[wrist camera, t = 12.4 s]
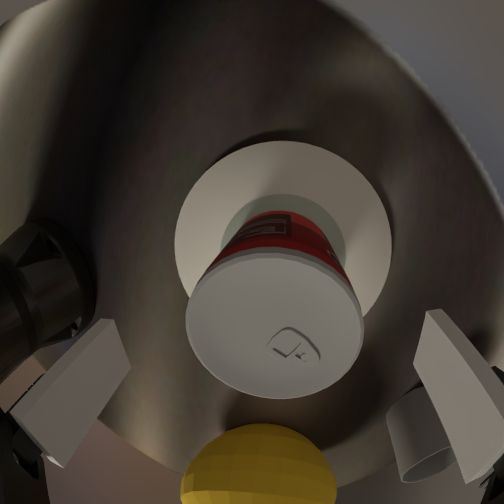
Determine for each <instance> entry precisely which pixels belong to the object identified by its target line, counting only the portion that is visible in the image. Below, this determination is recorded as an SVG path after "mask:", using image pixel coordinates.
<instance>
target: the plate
mask: <svg viewBox="0 0 504 504" xmlns="http://www.w3.org/2000/svg"><path fill="white" fill-rule="evenodd" d="M279 210H283V211H289V212H294V213H297V214H300V215H302V216H304V217H306V218H308V219H309V220H311V221H312V222H314V223H315V224H316V225H317V226H318V227H319V228H320V229H321V230H322V232H323V233H324V234H325V236H326V237H327V239H328V241H329V243H330V244H331V246H332V248H333V250H334V252H335V254H336V255H337V257H338V259H339V261H340V263H341V265H342V267H343V269H344V271H345V273H346V274H347V276H348V278H349V280H350V282H351V285H352V287H353V289H354V292H355V294H356V296H357V299H358V301H359V304H360V307H361V312H362V315H363V316H364V315H365V314H366V313H367V312H368V311H369V309H370V308H371V307H372V305H373V304H374V303H375V301H376V299H377V298H378V296H379V294H380V293H381V290H382V288H383V286H384V283H385V281H386V278H387V275H388V271H389V267H390V261H391V253H392V243H391V232H390V225H389V221H388V218H387V215H386V211H385V209H384V207H383V204H382V202H381V200H380V198H379V196H378V195H377V193H376V191H375V190H374V188H373V187H372V185H371V184H370V183H369V182H368V180H367V179H366V178H365V177H364V176H363V175H362V174H361V173H360V172H359V171H358V170H357V169H356V168H355V167H354V166H352V165H351V164H350V163H349V162H347V161H346V160H344V159H343V158H341V157H339V156H338V155H336V154H334V153H332V152H330V151H328V150H325V149H323V148H320V147H317V146H314V145H310V144H307V143H300V142H293V141H272V142H265V143H259V144H255V145H252V146H248V147H245V148H242V149H240V150H238V151H236V152H233V153H231V154H229V155H228V156H226V157H224V158H223V159H221V160H220V161H218V162H217V163H215V164H214V165H213V166H212V167H211V168H210V169H208V170H207V171H206V172H205V173H204V174H203V175H202V176H201V178H200V179H199V180H198V181H197V182H196V183H195V185H194V186H193V188H192V189H191V191H190V192H189V194H188V196H187V198H186V200H185V202H184V204H183V206H182V208H181V211H180V215H179V218H178V221H177V227H176V233H175V257H176V264H177V268H178V272H179V276H180V278H181V281H182V284H183V286H184V288H185V290H186V292H187V294H188V296H189V298H190V297H191V294H192V292H193V290H194V288H195V286H196V284H197V282H198V280H199V279H200V278H201V277H202V275H203V274H204V272H205V271H206V269H207V268H208V267H209V266H210V264H211V263H212V262H213V261H214V259H215V258H216V257H217V256H218V254H219V253H220V252H221V251H222V250H223V248H224V247H225V246H226V245H227V243H228V242H229V241H230V240H231V238H232V237H233V236H234V235H235V234H236V232H237V231H238V230H239V229H240V228H241V227H242V225H243V224H244V223H245V222H247V221H248V220H250V219H251V218H252V217H254V216H256V215H259V214H261V213H264V212H269V211H279Z"/></svg>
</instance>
